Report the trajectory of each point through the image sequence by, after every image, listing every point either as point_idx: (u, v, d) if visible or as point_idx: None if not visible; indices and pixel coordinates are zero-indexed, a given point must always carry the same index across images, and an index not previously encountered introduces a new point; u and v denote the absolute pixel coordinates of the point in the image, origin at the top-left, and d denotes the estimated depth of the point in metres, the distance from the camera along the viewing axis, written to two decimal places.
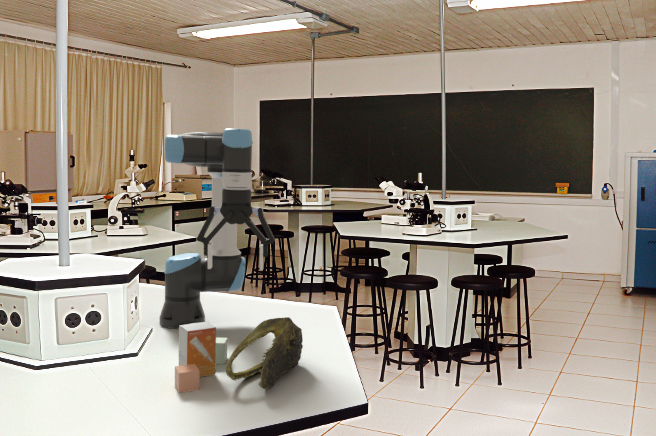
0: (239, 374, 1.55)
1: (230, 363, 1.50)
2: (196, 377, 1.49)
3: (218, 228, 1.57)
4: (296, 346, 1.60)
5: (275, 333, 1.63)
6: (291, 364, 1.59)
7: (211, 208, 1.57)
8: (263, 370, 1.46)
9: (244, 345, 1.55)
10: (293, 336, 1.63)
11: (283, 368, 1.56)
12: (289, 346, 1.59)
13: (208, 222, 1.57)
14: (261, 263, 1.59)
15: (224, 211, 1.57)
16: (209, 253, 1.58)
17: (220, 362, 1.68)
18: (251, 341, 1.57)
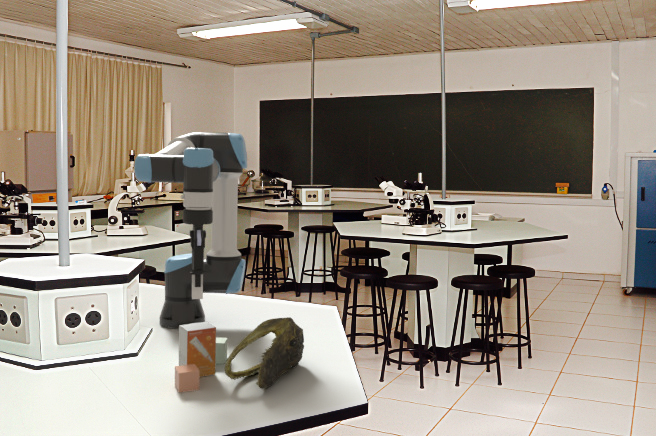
0: (238, 373, 1.55)
1: (229, 362, 1.51)
2: (196, 377, 1.49)
3: (192, 252, 1.57)
4: (296, 346, 1.60)
5: (276, 333, 1.64)
6: (291, 364, 1.59)
7: None
8: (260, 370, 1.46)
9: (243, 345, 1.55)
10: (294, 336, 1.63)
11: (282, 368, 1.56)
12: (289, 346, 1.59)
13: (192, 247, 1.60)
14: (192, 292, 1.57)
15: None
16: None
17: (220, 362, 1.68)
18: (251, 341, 1.57)
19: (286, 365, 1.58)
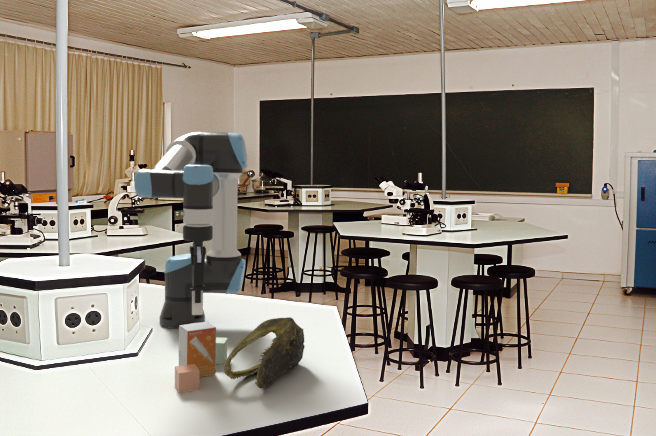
0: (238, 373, 1.55)
1: (228, 362, 1.51)
2: (196, 377, 1.49)
3: None
4: (296, 346, 1.59)
5: (276, 333, 1.64)
6: (291, 364, 1.59)
7: None
8: (259, 370, 1.46)
9: (243, 344, 1.56)
10: (294, 336, 1.63)
11: (282, 368, 1.56)
12: (289, 346, 1.59)
13: None
14: (192, 307, 1.58)
15: None
16: (192, 298, 1.58)
17: (220, 362, 1.68)
18: (251, 340, 1.58)
19: (286, 365, 1.58)
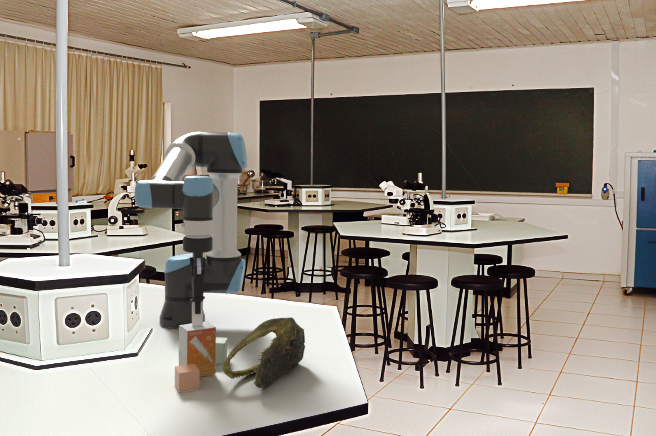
0: (238, 373, 1.56)
1: (227, 361, 1.52)
2: (196, 376, 1.49)
3: (192, 279, 1.58)
4: (296, 346, 1.59)
5: (276, 333, 1.64)
6: (290, 364, 1.59)
7: None
8: (258, 369, 1.46)
9: (243, 344, 1.56)
10: (294, 336, 1.63)
11: (282, 368, 1.57)
12: (289, 346, 1.59)
13: None
14: (192, 318, 1.58)
15: None
16: (192, 309, 1.58)
17: (220, 362, 1.68)
18: (250, 340, 1.58)
19: (285, 365, 1.58)
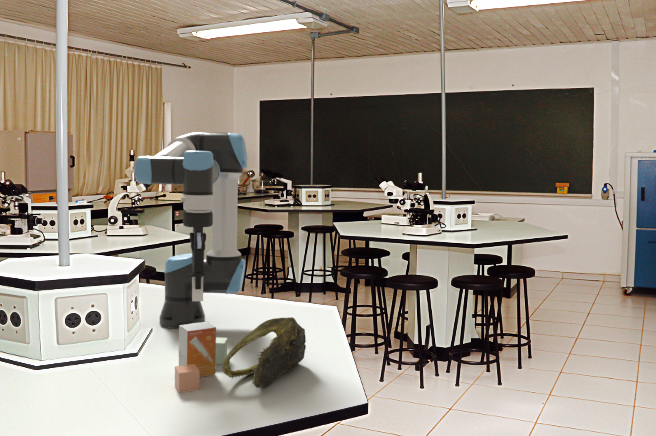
0: (237, 372, 1.56)
1: (227, 361, 1.52)
2: (196, 377, 1.49)
3: None
4: (296, 346, 1.59)
5: (277, 333, 1.64)
6: (290, 364, 1.59)
7: None
8: (256, 369, 1.46)
9: (243, 343, 1.56)
10: (294, 336, 1.62)
11: (281, 368, 1.57)
12: (288, 346, 1.59)
13: None
14: (192, 294, 1.57)
15: None
16: (192, 284, 1.58)
17: (220, 362, 1.68)
18: (250, 340, 1.58)
19: (285, 365, 1.58)
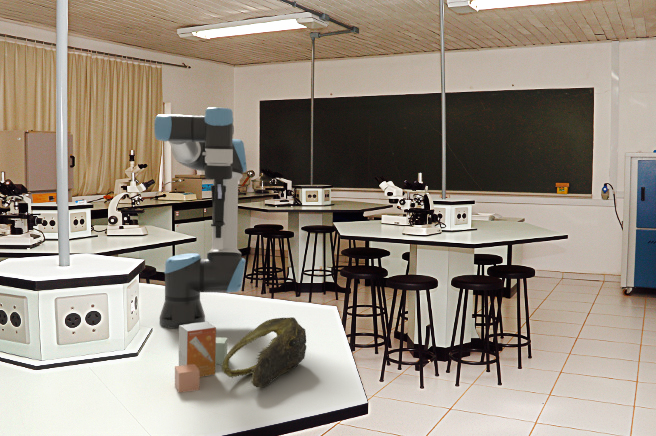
0: (237, 372, 1.56)
1: (226, 360, 1.52)
2: (196, 376, 1.49)
3: (213, 205, 1.69)
4: (296, 346, 1.59)
5: (277, 333, 1.64)
6: (290, 364, 1.59)
7: None
8: (255, 369, 1.47)
9: (242, 343, 1.57)
10: (294, 336, 1.62)
11: (281, 368, 1.57)
12: (288, 346, 1.59)
13: None
14: (213, 242, 1.69)
15: None
16: (212, 234, 1.69)
17: (220, 362, 1.68)
18: (250, 339, 1.58)
19: (285, 365, 1.58)
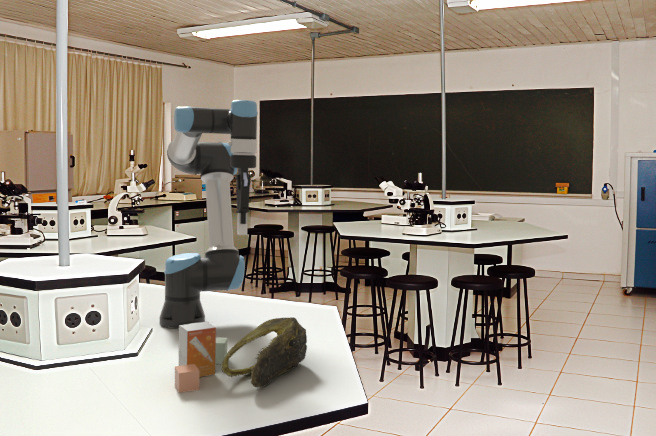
0: (237, 371, 1.56)
1: (226, 360, 1.53)
2: (196, 376, 1.49)
3: (238, 193, 1.78)
4: (295, 346, 1.59)
5: (277, 332, 1.64)
6: (290, 364, 1.59)
7: None
8: (254, 368, 1.47)
9: (242, 343, 1.57)
10: (294, 336, 1.62)
11: (280, 368, 1.57)
12: (288, 346, 1.59)
13: None
14: (237, 228, 1.78)
15: (238, 174, 1.79)
16: None
17: (220, 362, 1.68)
18: (250, 339, 1.59)
19: (285, 365, 1.58)
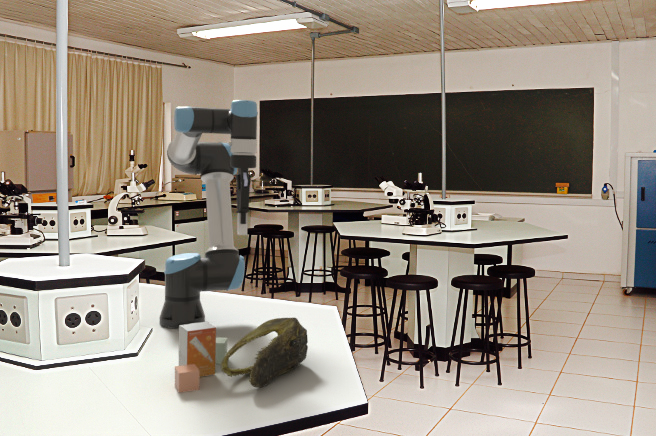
0: (237, 371, 1.57)
1: (225, 359, 1.53)
2: (196, 377, 1.49)
3: (238, 193, 1.78)
4: (296, 347, 1.59)
5: (278, 332, 1.64)
6: (290, 364, 1.59)
7: None
8: (253, 368, 1.47)
9: (242, 342, 1.57)
10: (295, 336, 1.62)
11: (280, 368, 1.57)
12: (288, 346, 1.59)
13: (237, 190, 1.81)
14: (237, 228, 1.78)
15: (238, 174, 1.79)
16: None
17: (220, 362, 1.68)
18: (251, 339, 1.59)
19: (284, 365, 1.58)
